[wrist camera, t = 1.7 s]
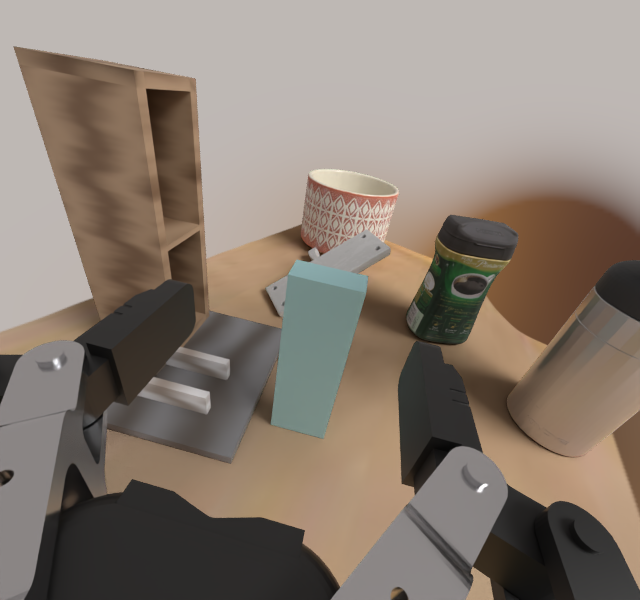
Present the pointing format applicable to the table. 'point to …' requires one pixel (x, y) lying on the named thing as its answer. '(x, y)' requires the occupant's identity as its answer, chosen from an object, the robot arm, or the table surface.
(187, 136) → the cabinet
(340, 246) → the handle
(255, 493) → the table surface
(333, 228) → the planter
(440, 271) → the coffee jar
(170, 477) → the table surface
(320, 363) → the teal rectangular block
